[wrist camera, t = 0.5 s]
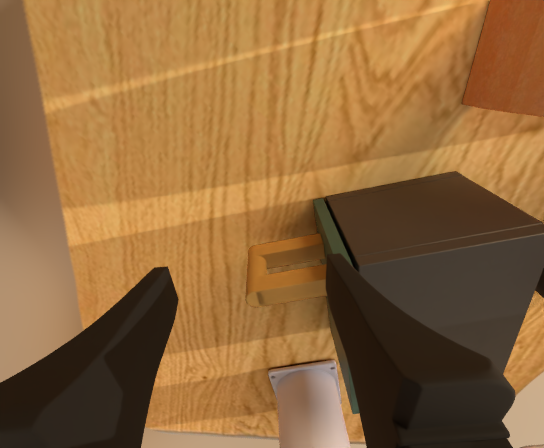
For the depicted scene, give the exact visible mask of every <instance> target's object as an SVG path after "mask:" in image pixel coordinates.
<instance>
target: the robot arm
mask: <svg viewBox="0 0 544 448" xmlns="http://www.w3.org/2000/svg"><path fill="white" fill-rule="evenodd" d="M326 293H327V298H328V303H329V307H330V311H331V314H332V316H333V319H334V322H335V325H336V328H337V331H338V334H339V337H340V340H341V343H342V346H343V349H344V351H345V355H346V358H347V361H348V365H349V369H350V373H351V377H352V382H353V386H354V390H355V395H356V399H357V403H358V408H359V412H360V417H361V422H362V426H363V431H364V436H365V441H366V446H367V448H513V447H512V446H511V444H510V443H509V441H508V439H507V438H509V437H510V434H509V431H508V430H507V428H506V427H505V425H504V424H503V422H502V419H503V418H504V416H505V415H506V413H507V412H508V411H509V409H510V408H511V406H512V404H513V402H514V400H515V390H514V389H513V387H512V386H511V385H510V384H509V382H508V381H507V379H506V378H505V377H504V375H503V374H502V373H501V371H500V370H499V369H498V368H497V366H496V365H495V364H494V363H493V362H492V361H491V360H490V358H488V357H486V356H483V355H481V354H479V353H477V352H475V351H473V350H471V349H468V348H466V347H464V346H462V345H460V344H458V343H456V342H454V341H452V340H450V339H448V338H447V337H445V336H443V335H441V334H439V333H437V332H436V331H434V330H432V329H430V328H429V327H427V326H425V325H424V324H422V323H421V322H419V321H417V320H416V319H414V318H413V317H411V316H410V315H408V314H407V313H405V312H404V311H403V310H401V309H400V308H398V307H397V306H396V305H394V304H393V303H392V302H390V301H389V300H388V299H387V298H386V297H384V296H383V295H382V294H381V293H380V292H379V291H377V290H376V289H375V288H374V287H373V286H372V285H371V284H370V283H369V282H368V281H367V280H366V279H365V278H364V277H363V276H362V275H361V274H360V273H359V272H358V271H357V270H356V269H355V268H354V267H353V266H352V265H351V264H350V263H349V262H348V261H347V260H346V259H345V257H344V256H343V255H342V254H341V253H337V254H327V262H326ZM177 305H178V297H177V294H176V290H175V287H174V284H173V281H172V278H171V275H170V272H169V269H168V267H157V268H153V269H152V270H151V271H150V272H149V273H148V274H147V275H146V276H145V277H144V278H143V279H142V280H141V281H140V282H139V283H138V284H137V285H136V286H135V287H134V288H132V289H131V290H130V291H129V292H128V293H127V294H126V295H125V296H124V297H123V298H122V299H121V300H120V301H119V302H118V303H116V304H115V305H114V306H113V307H112V308H111V309H110V310H108V311H107V312H106V313H105V314H104V315H103V316H102V317H100V318H99V319H98V320H97V321H95V322H94V323H93V324H92V325H90V326H89V327H88V328H86V329H85V330H84V331H82V332H81V333H80V334H79V335H77V336H76V337H74V338H73V339H72V340H70V341H69V342H67V343H66V344H64V345H63V346H61V347H60V348H58V349H57V350H55V351H54V352H52V353H51V354H49V355H48V356H46V357H44V358H43V359H41V360H39V361H38V362H36V363H35V364H33V365H31V366H30V367H28V368H26V369H25V370H23V371H21V372H19V373H17V374H16V375H14V376H12V377H10V378H9V379H7V380H5V381H3V382H1V383H0V448H141V444H142V438H143V433H144V428H145V423H146V418H147V413H148V408H149V403H150V399H151V395H152V390H153V386H154V382H155V378H156V374H157V371H158V368H159V365H160V362H161V359H162V356H163V353H164V350H165V347H166V344H167V341H168V338H169V335H170V332H171V329H172V326H173V323H174V320H175V315H176V310H177ZM268 376H269V379H270V382H271V384H272V387H273V390H274V393H275V396H276V399H277V404H278V423H279V442H280V448H350V443H349V439H348V434H347V430H346V426H345V421H344V417H343V413H342V409H341V396H340V388H339V381H338V373H337V366H336V362H335V361H334V360H329V361H322V362H316V363H309V364H303V365H296V366H290V367H284V368H277V369H271V370H269V371H268ZM521 448H544V445H532V446H525V447H521Z"/></svg>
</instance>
